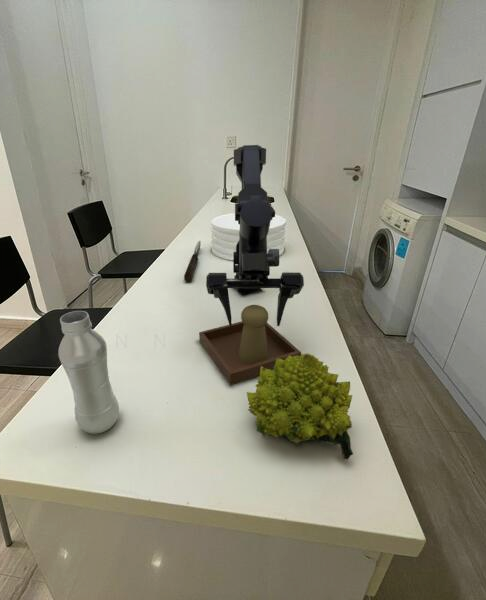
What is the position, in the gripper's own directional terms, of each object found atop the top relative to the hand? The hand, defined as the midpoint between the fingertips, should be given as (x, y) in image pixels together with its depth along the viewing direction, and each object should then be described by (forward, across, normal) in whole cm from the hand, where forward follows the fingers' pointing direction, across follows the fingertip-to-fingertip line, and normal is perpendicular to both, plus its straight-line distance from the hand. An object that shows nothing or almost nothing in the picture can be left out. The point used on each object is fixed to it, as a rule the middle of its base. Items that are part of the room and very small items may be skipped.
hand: (254, 325), depth 64 cm
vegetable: (+17, +6, -5) cm, 19 cm away
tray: (+4, -1, +8) cm, 9 cm away
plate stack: (-44, +1, +56) cm, 71 cm away
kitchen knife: (-36, -17, +44) cm, 59 cm away
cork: (+5, 0, +6) cm, 8 cm away
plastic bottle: (+18, -26, -7) cm, 32 cm away
